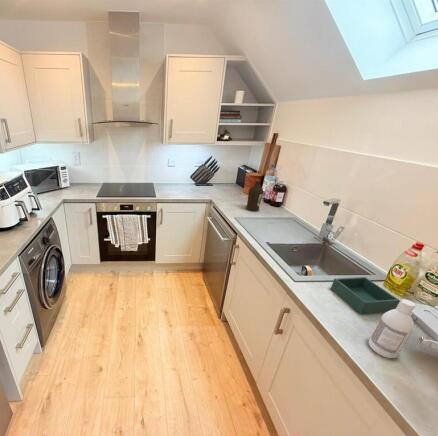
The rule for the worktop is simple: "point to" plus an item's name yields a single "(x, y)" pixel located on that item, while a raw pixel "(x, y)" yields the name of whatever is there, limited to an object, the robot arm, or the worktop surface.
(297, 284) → the worktop surface
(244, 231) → the worktop surface
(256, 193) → the olive oil
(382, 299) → the tray
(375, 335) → the bath foam
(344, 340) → the worktop surface
